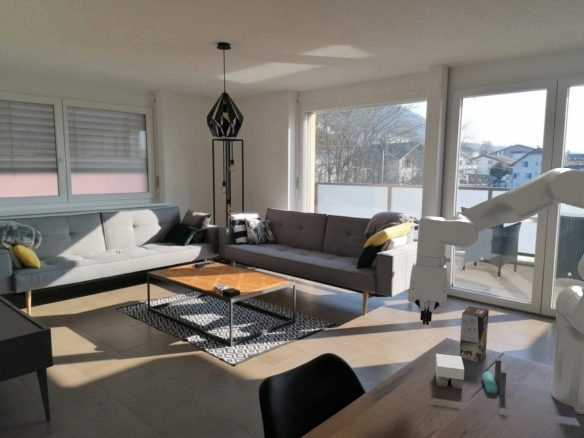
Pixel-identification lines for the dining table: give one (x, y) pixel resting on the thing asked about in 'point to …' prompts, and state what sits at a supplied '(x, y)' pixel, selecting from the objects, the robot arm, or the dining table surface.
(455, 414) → the dining table surface
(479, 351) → the coffee box
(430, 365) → the dining table surface
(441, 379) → the roller bed
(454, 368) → the slab
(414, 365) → the dining table surface
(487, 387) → the roller
